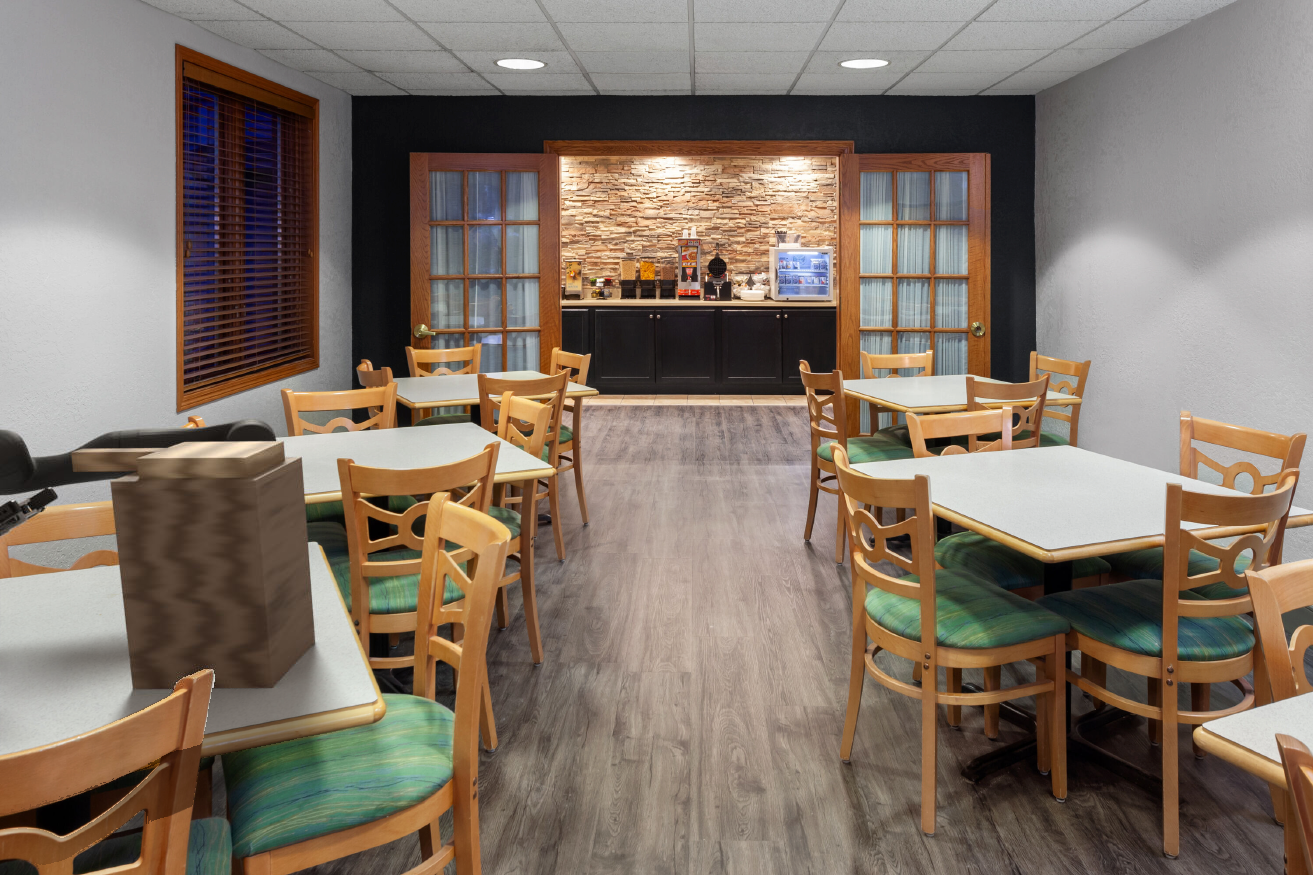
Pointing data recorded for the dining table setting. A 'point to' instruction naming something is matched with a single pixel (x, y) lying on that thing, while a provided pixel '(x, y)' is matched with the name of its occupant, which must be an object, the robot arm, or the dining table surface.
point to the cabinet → (215, 576)
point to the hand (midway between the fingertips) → (36, 498)
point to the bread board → (185, 459)
